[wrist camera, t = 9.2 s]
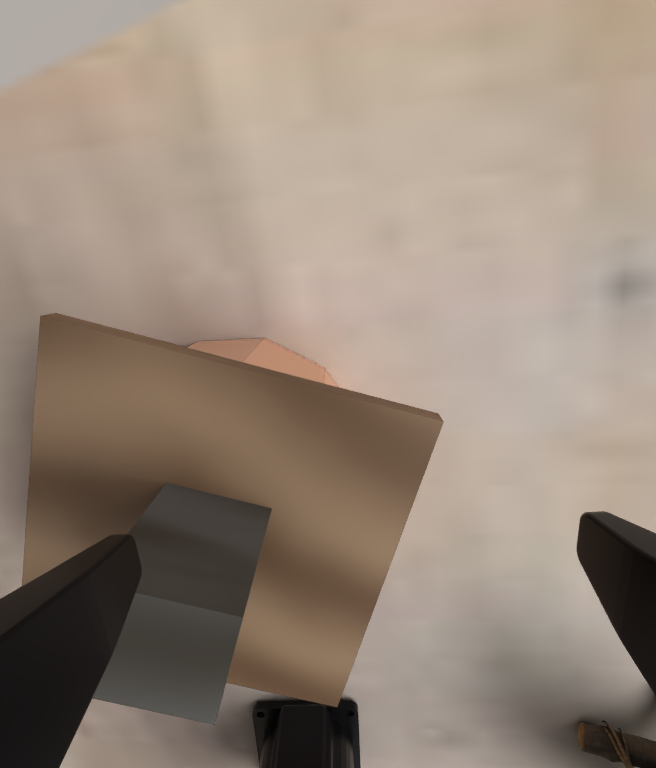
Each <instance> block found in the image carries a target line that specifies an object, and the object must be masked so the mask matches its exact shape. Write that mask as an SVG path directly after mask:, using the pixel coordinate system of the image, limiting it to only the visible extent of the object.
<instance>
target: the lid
mask: <svg viewBox="0 0 656 768" xmlns="http://www.w3.org/2000/svg"><path fill="white" fill-rule="evenodd" d="M442 425H443V420H442V418H441V417H440V415H439V414H438V413H434V412H430V411H426V410H423V409H419V408H415V407H411V406H407V405H404V404H400V403H396V402H392V401H388V400H385V399H381V398H377V397H373V396H369V395H366V394H362V393H358V392H354V391H350V390H347V389H343V388H339V387H335V386H331V385H327V384H324V383H320V382H316V381H312V380H308V379H305V378H301V377H297V376H293V375H289V374H286V373H282V372H278V371H274V370H270V369H267V368H263V367H259V366H255V365H251V364H248V363H244V362H240V361H236V360H232V359H229V358H225V357H221V356H217V355H213V354H210V353H206V352H202V351H198V350H194V349H191V348H187V347H183V346H179V345H175V344H172V343H168V342H164V341H160V340H156V339H153V338H149V337H145V336H141V335H137V334H134V333H130V332H126V331H122V330H118V329H114V328H111V327H107V326H103V325H99V324H95V323H92V322H88V321H84V320H80V319H76V318H73V317H69V316H65V315H61V314H57V313H54V314H49V315H43V316H40V330H39V345H38V359H37V374H36V388H35V403H34V418H33V432H32V447H31V461H30V476H29V491H28V505H27V520H26V534H25V549H24V563H23V578H22V586H24V585H25V584H27V583H29V582H30V581H32V580H34V579H36V578H37V577H39V576H41V575H42V574H44V573H46V572H48V571H49V570H51V569H53V568H54V567H56V566H58V565H60V564H61V563H63V562H65V561H66V560H68V559H70V558H72V557H73V556H75V555H77V554H78V553H80V552H82V551H84V550H85V549H87V548H89V547H90V546H92V545H94V544H96V543H97V542H99V541H101V540H102V539H104V538H106V537H108V536H109V535H112V534H131V535H133V537H134V538H135V541H136V545H137V549H138V553H139V557H140V562H141V566H142V574H141V579H140V582H139V585H138V587H137V590H136V593H135V596H134V598H133V601H132V604H131V607H130V609H129V612H128V615H127V618H126V620H125V623H124V626H123V629H122V631H121V634H120V637H119V640H118V642H117V645H116V647H115V650H114V652H113V655H112V657H111V659H110V661H109V664H108V666H107V668H106V670H105V672H104V674H103V676H102V679H101V681H100V683H99V685H98V687H97V689H96V691H95V693H94V695H93V699H98V700H103V701H107V702H112V703H116V704H121V705H126V706H130V707H135V708H140V709H144V710H149V711H153V712H158V713H163V714H167V715H172V716H177V717H181V718H186V719H190V720H195V721H200V722H204V723H209V724H213V725H215V722H216V718H217V715H218V711H219V707H220V703H221V700H222V696H223V692H224V688H225V685H226V683H230V684H234V685H239V686H243V687H248V688H252V689H257V690H261V691H266V692H270V693H275V694H279V695H284V696H288V697H293V698H297V699H302V700H306V701H311V702H315V703H320V704H324V705H329V706H333V707H338V704H339V701H340V698H341V696H342V693H343V690H344V688H345V685H346V682H347V680H348V677H349V674H350V672H351V669H352V666H353V664H354V661H355V658H356V656H357V653H358V650H359V647H360V645H361V642H362V639H363V637H364V634H365V631H366V629H367V626H368V623H369V621H370V618H371V615H372V613H373V610H374V607H375V605H376V602H377V599H378V596H379V594H380V591H381V588H382V586H383V583H384V580H385V578H386V575H387V572H388V570H389V567H390V564H391V562H392V559H393V556H394V554H395V551H396V548H397V545H398V543H399V540H400V537H401V535H402V532H403V529H404V527H405V524H406V521H407V519H408V516H409V513H410V511H411V508H412V505H413V503H414V500H415V497H416V494H417V492H418V489H419V486H420V484H421V481H422V478H423V476H424V473H425V470H426V468H427V465H428V462H429V460H430V457H431V454H432V452H433V449H434V446H435V443H436V441H437V438H438V435H439V433H440V430H441V427H442Z"/></svg>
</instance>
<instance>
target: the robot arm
mask: <svg viewBox="0 0 656 768" xmlns="http://www.w3.org/2000/svg"><path fill="white" fill-rule="evenodd" d="M577 555H578V558H579V561H580V563H581V565H582V567H583V569H584V571H585V573H586V575H587V577H588V579H589V581H590V582H591V584H592V586H593V588H594V590H595V592H596V594H597V596H598V598H599V600H600V602H601V604H602V606H603V608H604V610H605V612H606V614H607V616H608V618H609V620H610V622H611V623H612V625H613V627H614V629H615V631H616V633H617V634H618V636H619V638H620V640H621V641H622V643H623V645H624V646H625V648H626V650H627V651H628V653H629V654H630V656H631V657H632V659H633V661H634V662H635V664H636V665H637V667H638V668H639V670H640V672H641V673H642V675H643V676H644V678H645V679H646V681H647V683H648V684H649V686H650V687H651V689H652V690H653V692H654V694H655V695H656V533H654V532H651V531H649V530H647V529H645V528H642V527H640V526H638V525H635V524H633V523H631V522H629V521H626V520H624V519H622V518H619V517H617V516H615V515H613V514H610V513H608V512H604V511H601V512H585V513H584V514H582V516H581V518H580V523H579V532H578V540H577ZM141 574H142V566H141V562H140V557H139V553H138V549H137V545H136V541H135V538H134V537H133V535H131V534H112V535H109V536H108V537H106V538H104V539H102V540H101V541H99V542H97V543H96V544H94V545H92V546H90V547H89V548H87V549H85V550H84V551H82V552H80V553H78V554H77V555H75V556H73V557H72V558H70V559H68V560H66V561H65V562H63V563H61V564H60V565H58V566H56V567H54V568H53V569H51V570H49V571H48V572H46V573H44V574H42V575H41V576H39V577H37V578H36V579H34V580H32V581H30V582H29V583H27V584H25V585H24V586H22V587H20V588H18V589H17V590H15V591H13V592H12V593H10V594H8V595H6V596H5V597H3V598H1V599H0V768H59V767H60V765H61V763H62V761H63V759H64V756H65V754H66V752H67V750H68V748H69V746H70V744H71V742H72V740H73V738H74V735H75V733H76V731H77V729H78V727H79V725H80V723H81V721H82V719H83V716H84V714H85V712H86V710H87V708H88V706H89V704H90V702H91V700H92V698H93V695H94V693H95V691H96V689H97V687H98V685H99V683H100V681H101V679H102V676H103V674H104V672H105V670H106V668H107V666H108V664H109V661H110V659H111V657H112V655H113V652H114V650H115V647H116V645H117V642H118V640H119V637H120V634H121V631H122V629H123V626H124V623H125V620H126V618H127V615H128V612H129V609H130V607H131V604H132V601H133V598H134V596H135V593H136V590H137V587H138V585H139V582H140V579H141ZM253 721H254V728H255V736H256V743H257V750H258V757H259V764H260V765H259V768H360V746H359V723H358V706H357V704H356V703H355V702H353V701H339V704H338V707H333V706H329V705H324V704H320V703H315V702H311V701H303V702H259V703H256V704H255V705H254V709H253Z"/></svg>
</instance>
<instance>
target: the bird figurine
mask: <svg viewBox="0 0 656 768" xmlns="http://www.w3.org/2000/svg"><path fill="white" fill-rule="evenodd" d="M602 722H605V724H606V726H601V725H600V726H597V725H591V724H588V723H584V722H580V723H579V725H578V742H579V746H580V748H581V750H582V751H584V752H588V753H592V754H596V755H599V756H602V757H605V758H606V759H608V760H610V761H612V762H622V763H623V764H624V765H625V767H626V768H633V767H639V768H656V741H652V740H648V739H644V738H641V737H638V736H634V735H630V734H626V733H622V732H621V729H620V728H619V730H620V732H619V731H616V730H614V729H612V728H611V726H610V725H609V724H608V723H607V722H606V721H602ZM632 766H633V767H632Z"/></svg>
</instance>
